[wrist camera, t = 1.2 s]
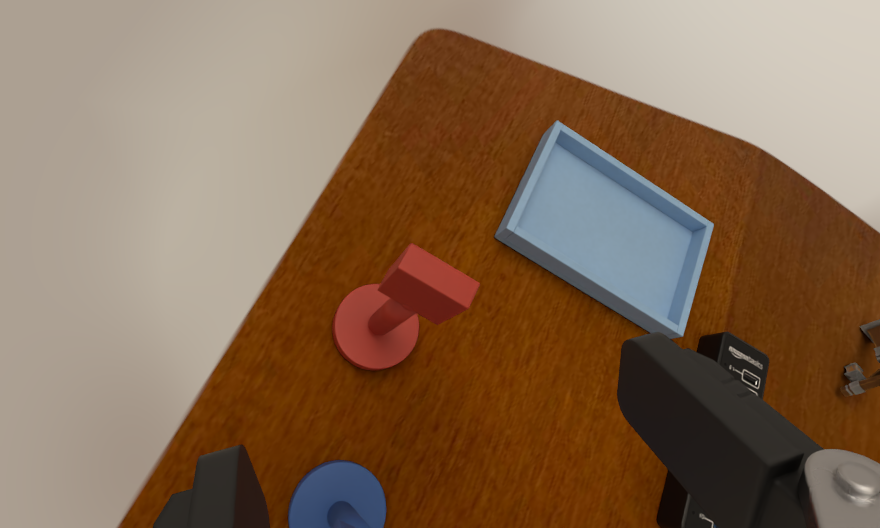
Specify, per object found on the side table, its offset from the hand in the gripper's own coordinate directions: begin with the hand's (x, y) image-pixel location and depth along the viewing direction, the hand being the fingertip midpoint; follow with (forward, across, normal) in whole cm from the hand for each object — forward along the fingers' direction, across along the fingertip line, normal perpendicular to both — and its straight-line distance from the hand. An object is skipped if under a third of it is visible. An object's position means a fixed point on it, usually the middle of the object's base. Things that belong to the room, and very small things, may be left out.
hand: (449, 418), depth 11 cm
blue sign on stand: (+13, +4, +17) cm, 22 cm away
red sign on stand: (+19, 0, +11) cm, 22 cm away
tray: (+24, -19, +10) cm, 32 cm away
